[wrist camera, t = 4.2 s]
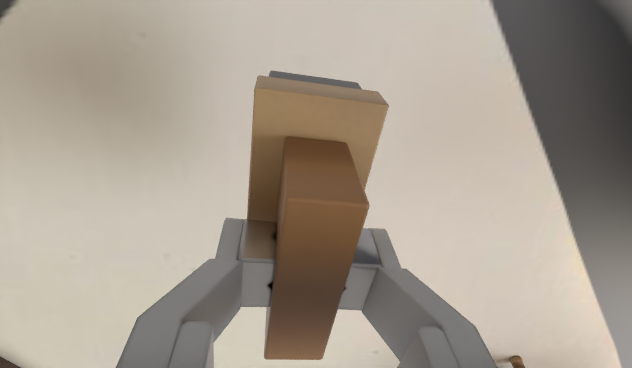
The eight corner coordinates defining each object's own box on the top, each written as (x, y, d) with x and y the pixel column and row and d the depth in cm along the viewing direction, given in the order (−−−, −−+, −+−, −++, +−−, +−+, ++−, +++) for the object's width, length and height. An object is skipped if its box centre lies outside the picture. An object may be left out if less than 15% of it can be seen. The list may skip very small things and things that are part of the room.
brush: (261, 62, 10) (240, 138, 6) (368, 77, 11) (431, 159, 6) (248, 250, 15) (232, 381, 10) (325, 254, 15) (343, 380, 11)
